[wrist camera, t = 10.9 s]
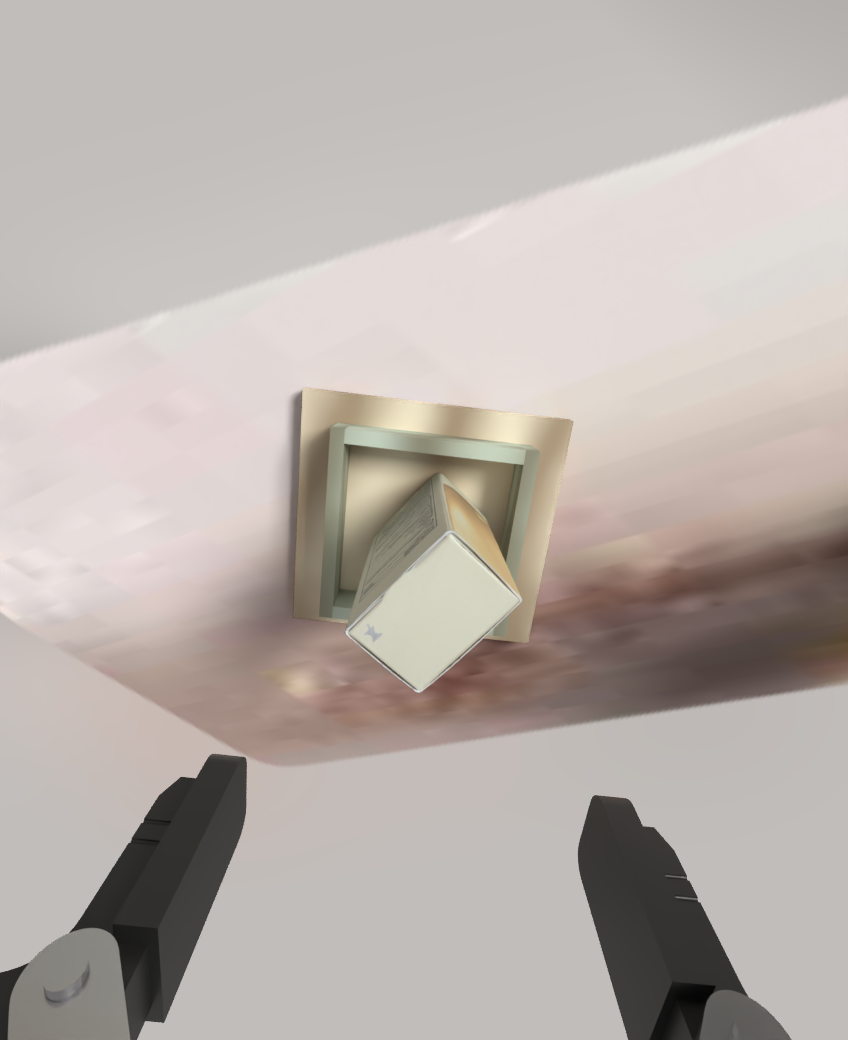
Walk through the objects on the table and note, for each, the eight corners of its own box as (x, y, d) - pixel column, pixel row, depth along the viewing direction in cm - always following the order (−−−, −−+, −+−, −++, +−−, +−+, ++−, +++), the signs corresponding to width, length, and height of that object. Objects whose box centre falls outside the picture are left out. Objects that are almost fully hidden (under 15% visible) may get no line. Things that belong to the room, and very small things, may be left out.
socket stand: (568, 419, 30) (586, 426, 27) (525, 635, 34) (535, 664, 31) (306, 387, 29) (291, 390, 26) (296, 610, 34) (282, 636, 31)
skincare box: (419, 581, 32) (414, 703, 20) (370, 537, 31) (335, 638, 20) (491, 513, 31) (529, 603, 19) (441, 465, 30) (450, 528, 18)
